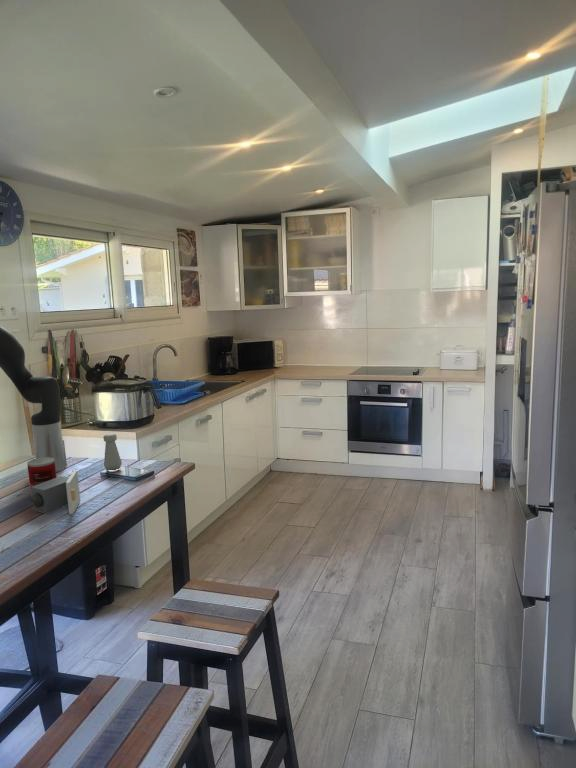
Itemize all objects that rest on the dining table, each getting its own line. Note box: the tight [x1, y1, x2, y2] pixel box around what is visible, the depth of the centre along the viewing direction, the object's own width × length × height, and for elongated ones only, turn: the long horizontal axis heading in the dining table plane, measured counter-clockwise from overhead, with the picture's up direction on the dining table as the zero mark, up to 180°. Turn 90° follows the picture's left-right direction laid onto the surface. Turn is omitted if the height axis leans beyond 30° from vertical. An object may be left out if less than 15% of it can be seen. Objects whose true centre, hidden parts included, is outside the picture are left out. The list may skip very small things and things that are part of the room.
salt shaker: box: [103, 432, 122, 471], centre depth 192 cm, size 6×6×13 cm
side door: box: [66, 470, 81, 515], centre depth 160 cm, size 10×2×9 cm, turn 9°
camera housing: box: [30, 469, 77, 515], centre depth 162 cm, size 12×6×9 cm, turn 149°
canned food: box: [27, 457, 57, 496], centre depth 171 cm, size 8×8×11 cm
